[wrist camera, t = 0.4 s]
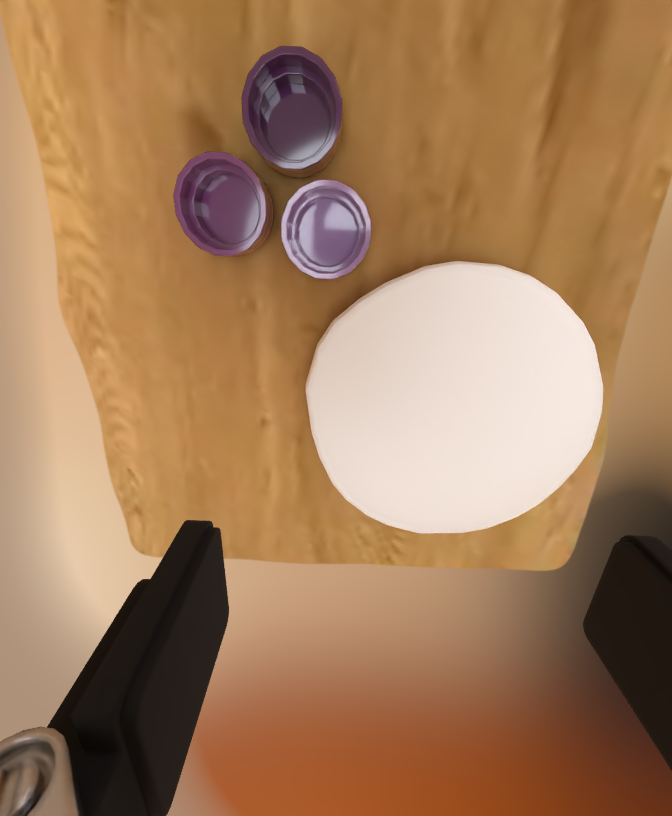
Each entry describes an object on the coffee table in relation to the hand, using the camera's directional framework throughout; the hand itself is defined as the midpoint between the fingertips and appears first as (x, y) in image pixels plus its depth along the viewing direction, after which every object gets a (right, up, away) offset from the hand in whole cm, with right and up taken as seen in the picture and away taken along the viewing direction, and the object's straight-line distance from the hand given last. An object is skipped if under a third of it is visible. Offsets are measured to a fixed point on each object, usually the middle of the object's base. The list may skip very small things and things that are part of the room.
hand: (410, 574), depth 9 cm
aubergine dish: (-5, +26, +20) cm, 33 cm away
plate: (+9, +4, +29) cm, 31 cm away
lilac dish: (-3, +19, +23) cm, 30 cm away
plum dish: (-10, +21, +23) cm, 32 cm away
